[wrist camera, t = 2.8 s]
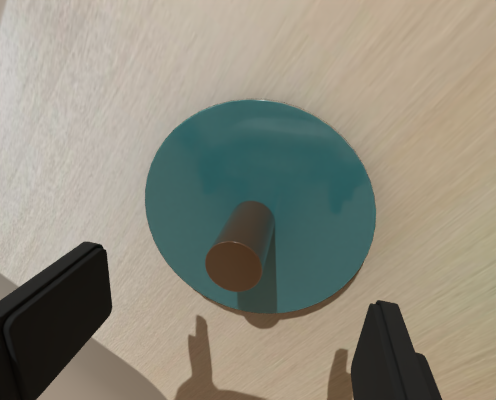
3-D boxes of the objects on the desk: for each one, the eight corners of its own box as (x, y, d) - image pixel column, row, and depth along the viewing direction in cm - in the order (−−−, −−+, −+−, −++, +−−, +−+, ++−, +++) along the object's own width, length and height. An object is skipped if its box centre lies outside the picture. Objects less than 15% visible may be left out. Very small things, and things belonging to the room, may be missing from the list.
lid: (122, 222, 20) (55, 274, 15) (226, 43, 15) (180, 25, 9) (277, 332, 20) (265, 416, 15) (426, 198, 15) (482, 258, 10)
